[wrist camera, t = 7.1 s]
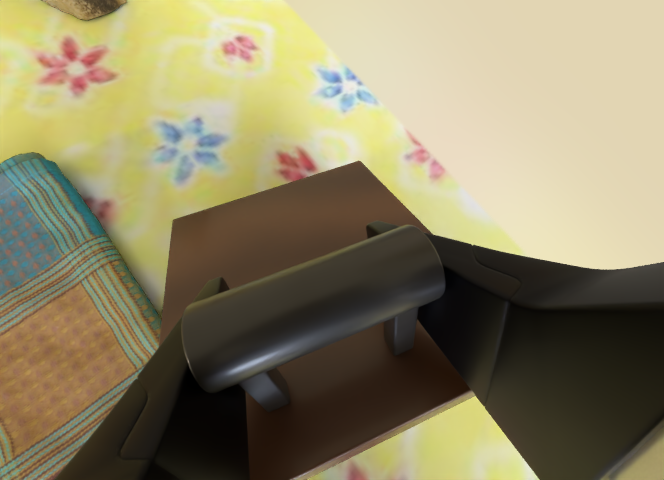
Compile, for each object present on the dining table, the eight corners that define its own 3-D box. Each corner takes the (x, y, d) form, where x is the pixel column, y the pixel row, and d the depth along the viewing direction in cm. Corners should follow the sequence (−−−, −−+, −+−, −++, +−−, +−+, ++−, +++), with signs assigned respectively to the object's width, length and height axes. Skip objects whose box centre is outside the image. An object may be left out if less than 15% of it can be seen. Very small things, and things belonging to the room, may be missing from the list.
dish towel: (62, 157, 22) (32, 138, 20) (229, 404, 19) (216, 417, 16) (-185, 293, 19) (-260, 290, 16) (-37, 629, 15) (-104, 690, 13)
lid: (541, 363, 9) (658, 238, 5) (153, 556, 7) (-137, 592, 3) (360, 171, 18) (353, 78, 14) (179, 229, 16) (117, 141, 13)
